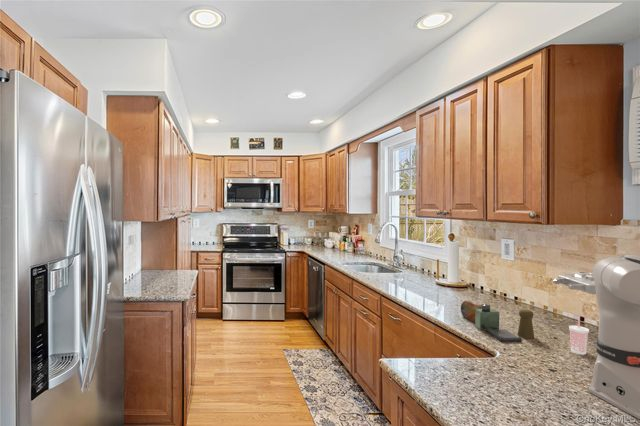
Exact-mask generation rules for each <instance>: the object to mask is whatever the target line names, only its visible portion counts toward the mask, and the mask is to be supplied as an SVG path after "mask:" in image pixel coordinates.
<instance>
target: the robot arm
mask: <svg viewBox="0 0 640 426" xmlns="http://www.w3.org/2000/svg"><path fill="white" fill-rule="evenodd" d="M552 284H554V285H560V284H561V285H562V286H566V287H568V288H567V289H569V290H576V291H581V292H583V293H587V294H590V295H596V296H595V297H596V302H597V308H598V338H597V339H596V343H595V345H596V346H595V347H596V349H595V350H596V353H597V357H596V359H595V363H594V367H593V371H592V372H593V373H592V380H591V381H590V385H589V387H588V392H589V393H590V394H592V395H595V396H596V397H598V398H600V399H601V400H603V401H605V402H607V403H609V404H610V405H613V406H614V407H617V408H618V409H620V410H621V411H624V412H625V413H627V414H630V415H631V416H633V417H635V418H636V419H638V420H640V255H637V254H624V255H622V256H620V257H617V256H613V257H606V258H603V259H600V260H599V261H598V262H596V263H595V264H594V266H593V269H592V272H583V271H577V272H576V273H564V274H559V275H557V279H556V278H555V279H553V280H552Z"/></svg>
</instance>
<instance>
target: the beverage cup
mask: <svg viewBox="0 0 640 426" xmlns="http://www.w3.org/2000/svg"><path fill="white" fill-rule="evenodd" d="M577 316H578V318H577V325H569V326H568V330H569V338H570V339H569V341H570V351H571V352H572V353H573V354H575V355H576V354H577V355H582V356H583V355H585V356H586V354H587V348H588V347H587V346H588V339H589V338H588V337H589V333H590V329H589V328H587V327H584V326H580V325H581V315H580V314H577Z"/></svg>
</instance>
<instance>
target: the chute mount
mask: <svg viewBox="0 0 640 426" xmlns="http://www.w3.org/2000/svg"><path fill="white" fill-rule="evenodd" d="M480 305H481V309H476V310H475V322H474V324H475V325H474V327H475V328H477V329H478V330H480V331H485V332H487V333H488V334H489V335H491V336H492V337H494V339H496V340H498V341H499V342H501V343H503V342H506V343H514V342H515V343H519V342H522V340H523V339H522V337H520V336H518V335H517V336H516V335H515V334H514V333H512V332H511V331H509V330H507V329H506V328H505V329H501V328H500V311H499V310H497V309H495V308H491V305H490V304H488V303H481V304H480Z"/></svg>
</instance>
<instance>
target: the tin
mask: <svg viewBox="0 0 640 426" xmlns="http://www.w3.org/2000/svg"><path fill="white" fill-rule="evenodd" d="M476 309H481V304H478V303H475V302H473V301H471V300H470V301H469V300H464V301H463V302H461V305H460V312H461V315H462V317H463V318H464V319H466V320H468V321H471V322H472V323H475V310H476Z"/></svg>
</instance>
